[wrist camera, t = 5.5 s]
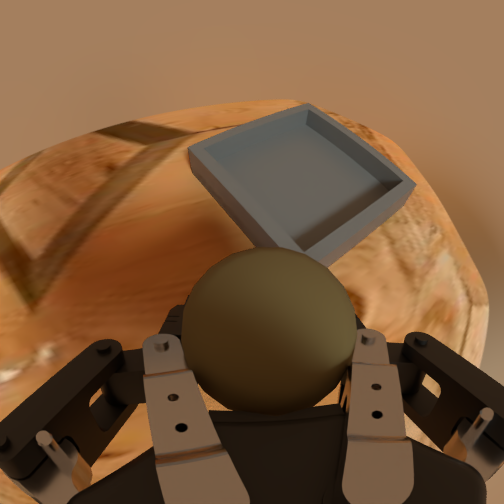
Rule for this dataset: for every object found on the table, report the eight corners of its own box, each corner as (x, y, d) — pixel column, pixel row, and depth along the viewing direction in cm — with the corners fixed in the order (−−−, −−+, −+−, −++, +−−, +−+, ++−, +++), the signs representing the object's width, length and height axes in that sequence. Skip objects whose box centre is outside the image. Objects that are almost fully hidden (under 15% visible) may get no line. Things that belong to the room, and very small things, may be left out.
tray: (294, 292, 19) (302, 272, 16) (192, 172, 24) (187, 147, 21) (403, 205, 23) (416, 184, 20) (304, 124, 28) (308, 103, 26)
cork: (256, 302, 18) (269, 182, 9) (324, 363, 16) (423, 306, 7) (188, 363, 16) (109, 308, 6) (257, 431, 14) (277, 487, 4)
